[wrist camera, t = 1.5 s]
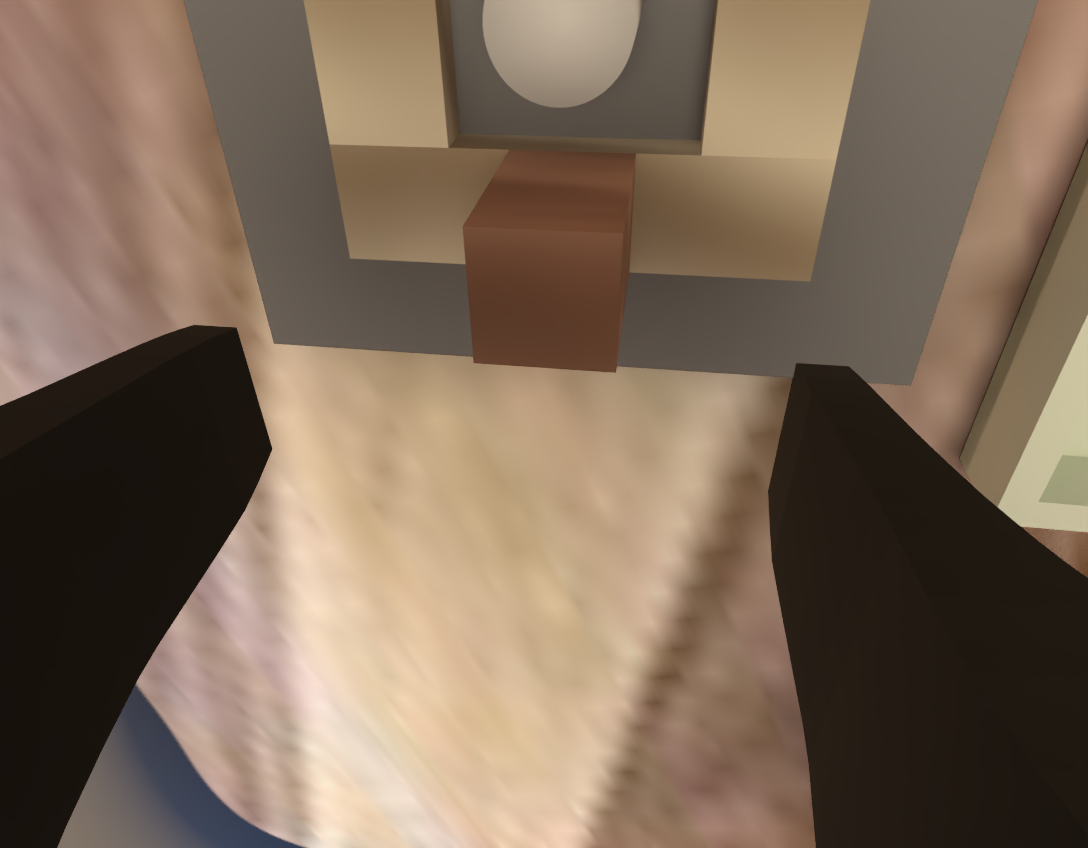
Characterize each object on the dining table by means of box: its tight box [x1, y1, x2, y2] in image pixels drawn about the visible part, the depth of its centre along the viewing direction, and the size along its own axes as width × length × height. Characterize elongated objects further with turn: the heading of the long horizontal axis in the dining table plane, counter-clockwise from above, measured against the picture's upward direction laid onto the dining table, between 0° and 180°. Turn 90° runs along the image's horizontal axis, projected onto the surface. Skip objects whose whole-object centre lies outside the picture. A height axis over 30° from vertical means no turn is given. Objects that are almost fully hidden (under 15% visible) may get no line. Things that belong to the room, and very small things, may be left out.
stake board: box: [184, 0, 1038, 385], centre depth 13 cm, size 16×16×4 cm
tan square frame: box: [304, 0, 871, 372], centre depth 12 cm, size 10×10×5 cm
